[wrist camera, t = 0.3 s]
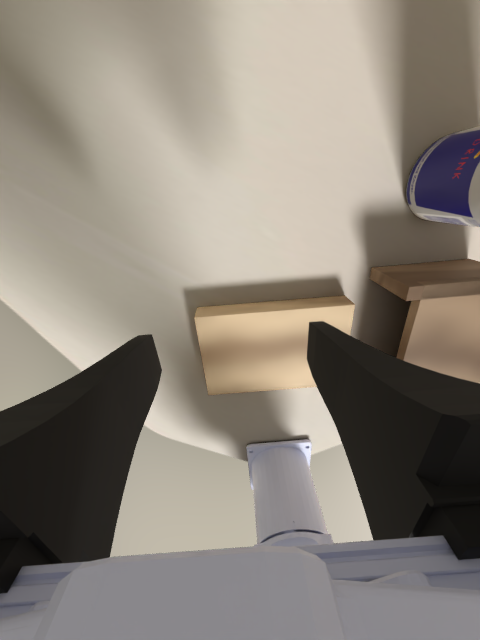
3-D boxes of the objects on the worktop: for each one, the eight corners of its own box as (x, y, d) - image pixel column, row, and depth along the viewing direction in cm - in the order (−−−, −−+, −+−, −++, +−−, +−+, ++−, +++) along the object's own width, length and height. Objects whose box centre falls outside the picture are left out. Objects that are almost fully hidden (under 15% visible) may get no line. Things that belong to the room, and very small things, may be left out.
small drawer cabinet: (425, 379, 26) (463, 415, 22) (351, 385, 26) (374, 422, 22) (468, 258, 20) (532, 276, 16) (371, 267, 20) (409, 287, 16)
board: (332, 368, 25) (341, 384, 23) (210, 377, 26) (208, 395, 23) (342, 293, 22) (354, 304, 19) (198, 305, 22) (194, 317, 19)
